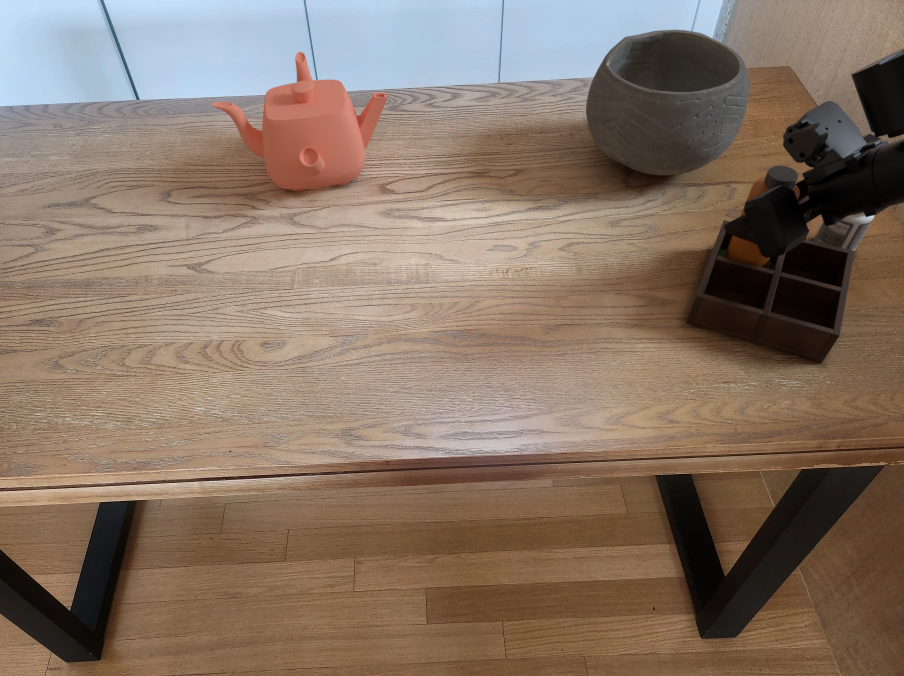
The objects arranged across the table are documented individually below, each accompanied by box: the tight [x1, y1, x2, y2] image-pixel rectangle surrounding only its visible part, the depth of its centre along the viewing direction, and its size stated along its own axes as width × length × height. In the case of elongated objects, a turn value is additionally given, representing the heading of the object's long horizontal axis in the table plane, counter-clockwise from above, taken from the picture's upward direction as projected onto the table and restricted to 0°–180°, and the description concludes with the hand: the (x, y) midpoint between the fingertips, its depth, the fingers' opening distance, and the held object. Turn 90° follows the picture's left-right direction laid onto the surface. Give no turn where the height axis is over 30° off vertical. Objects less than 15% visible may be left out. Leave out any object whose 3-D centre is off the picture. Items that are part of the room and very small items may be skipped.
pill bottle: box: [813, 212, 876, 252], centre depth 81 cm, size 5×5×8 cm
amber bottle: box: [724, 165, 800, 268], centre depth 77 cm, size 5×5×14 cm
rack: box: [685, 219, 856, 364], centre depth 78 cm, size 15×15×5 cm
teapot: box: [211, 51, 388, 192], centre depth 98 cm, size 18×18×14 cm
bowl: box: [585, 29, 750, 176], centre depth 94 cm, size 21×21×15 cm
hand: (752, 213), depth 77 cm, fingers open, 9 cm apart
